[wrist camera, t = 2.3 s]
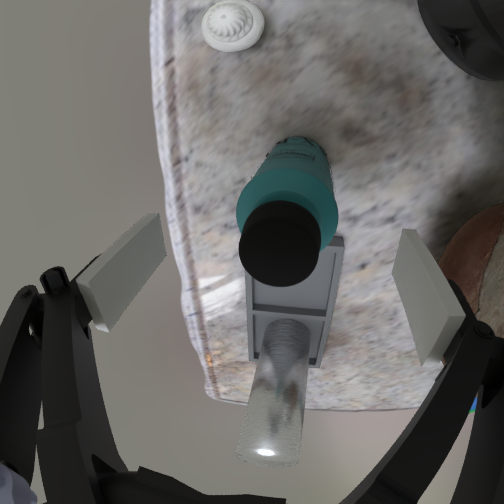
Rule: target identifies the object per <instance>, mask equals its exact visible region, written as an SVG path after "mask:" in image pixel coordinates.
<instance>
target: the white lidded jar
mask: <svg viewBox="0 0 504 504" xmlns="http://www.w3.org/2000/svg"><path fill="white" fill-rule="evenodd" d="M264 24H265V21H264V16H263V14H262V12H261V10H260V9H259V8H258V7H257V6H256V5H255V4H253V3H251V2H249V1H247V0H223V1H220V2H218V3H216V4H215V5H213V6H212V7H211V8H210V9H209V10H208V11H207V12H206V14H205V15H204V17H203V20H202V26H201V29H202V34H203V37H204V39H205V41H206V42H207V43H208V44H209V45H210V46H211V47H213V48H214V49H216V50H219V51H223V52H238V51H242V50H245V49H247V48H250V47H251V46H253V45H254V44H255V43H256V42H257V41H258V40H259V38H260V37H261V35H262V33H263V30H264Z"/></svg>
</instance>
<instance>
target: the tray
mask: <svg viewBox="0 0 504 504" xmlns="http://www.w3.org/2000/svg"><path fill="white" fill-rule="evenodd" d="M343 252H344V242H343V237H333V238H332V240H331V242H330V243H329V244H328V245H327V247H326V248H325V249H323V250H322V251H321V252H320V253H319V258H318V262H317V265H316V267H315V269H314V271H313V272H312V273H311V275H310V276H309V277H308V278H307V279H305V280H304V281H302V282H300V283H299V284H296V285H293V286H289V287H273V286H269V285H265V284H263V283H261V282H259V281H257V280H255V279H254V278H253V277H252V276H251V275H250V274H249V273H248V272H247V271H246V270H245V284H246V307H247V330H248V352H249V361H252V362H258V359H259V354H260V350H261V346H262V341H263V337H264V332H265V329H266V327H267V326H268V325H269V324H270V323H271V322H273V321H276V320H279V319H292V320H296V321H299V322H301V323H303V324H304V325H305V326H306V327H307V328H308V329H309V331H310V335H311V336H310V352H309V366H308V367H309V368H320V365H321V361H322V357H323V353H324V349H325V344H326V340H327V336H328V331H329V327H330V322H331V318H332V313H333V308H334V303H335V298H336V293H337V287H338V282H339V276H340V271H341V265H342V259H343Z"/></svg>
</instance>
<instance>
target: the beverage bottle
mask: <svg viewBox="0 0 504 504" xmlns="http://www.w3.org/2000/svg"><path fill="white" fill-rule="evenodd" d="M302 137H303V136H302ZM309 139H310V138H309ZM309 139H306V138H305V137H304V138H301V137H298V136H297V137H292V138H289V137H288V138H287V139H286V138H285V139H284V140H283V141H281V140H280V141H281V142H280V141H279V142H278V143H277V144H278V145H277V146H276V147H275V148H274V149H273V150H272V152H271V153H270V154H267V155H269V156H267V155H266V156H267V158H266V159H265V161H264V162H263V164H262V165H261V167H260V168H259V166H258V167H257V168H259V169H258V171H257V172H256V174H255V176H254V177H253V179H252V177H251V179H252V180H251V181H250V182H249V183H248V184H247V185H246V186H245V188H244V189H243V191H242V192H241V195H240V197H239V199H238V203H237V209H236V218H237V223H238V227H239V229H240V232H241V238H240V242H239V256H240V260H241V263H242V265H243V267H244V268H245V270H246V271H247V272H248V273H249V274H250V275H251V276H252V277H253V278H254V279H255V280H257V281H259V282H261V283H263V284H265V285H269V286H273V287H289V286H293V285H296V284H299V283H300V282H302V281H304V280H305V279H307V278H308V277H309V276H310V275H311V273H312V272H313V271H314V269H315V267H316V265H317V262H318V258H319V253H320V252H321V251H322V250H323V249H325V248H326V247H327V245H328V244H329V243H330V242H331V240H332V238H333V237H334V235H335V232H336V229H337V225H338V208H337V204H336V201H335V198H334V194H335V193H334V192H333V190H334V189H333V187H334V186H333V184H332V183H333V182H332V180H333V178H332V179H331V174H330V170H329V168H330V169H331V167H330V166H329V163H328V161H327V157H326V154H325V153H324V152H323V150H322V148H321V147H320V146H319V144H316V143H315V141H314V142H313V141H311V140H309ZM324 151H325V150H324ZM331 173H332V171H331ZM332 175H333V174H332Z"/></svg>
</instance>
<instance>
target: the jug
mask: <svg viewBox="0 0 504 504" xmlns="http://www.w3.org/2000/svg"><path fill="white" fill-rule="evenodd" d="M438 266H439V267H440V269H441V271H442V273H443V274H444V276H445V278H446V279H452V280H453V281H454V282H455V283H456V284H457V285H458V286H459V287H460V289H461V291H462V292H463V295H464V296H465V298H466V299H467V301H468V303H469V305H470V307H471V309H472V310H473V312H474V314H475V316H476V318H477V320H480V321H483V322H485V323H487V324H488V325H489V326H490V327H491V328H492V329H493V331H494V333H495V336H497V337H501V338H504V203H501V204H497V205H493V206H491V207H489V208H487V209H484V210H483V211H481V212H479V213H478V214H476V215H475V216H473V217H472V218H471V219H470V220H468V221H467V222H466V223H465V224H463V225H462V227H461V228H460V229H459V230H458V231H457V232H456V234H455V235H454V236H453V237H452V239H451V240H450V242H449V243H448V245H447V247H446V248H445V250H444V252H443V254H442V256H441V258H440V260H439V262H438ZM441 361H442V363H443V364H444V366H445V364H446V363H445V360H444V357H443V358H442V359H441ZM477 396H478V392H477V395H476V398H477Z"/></svg>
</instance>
